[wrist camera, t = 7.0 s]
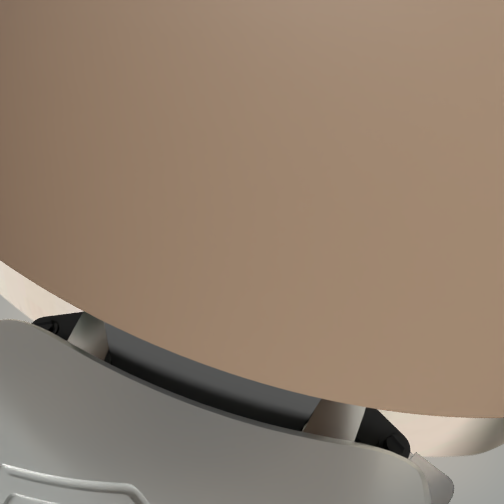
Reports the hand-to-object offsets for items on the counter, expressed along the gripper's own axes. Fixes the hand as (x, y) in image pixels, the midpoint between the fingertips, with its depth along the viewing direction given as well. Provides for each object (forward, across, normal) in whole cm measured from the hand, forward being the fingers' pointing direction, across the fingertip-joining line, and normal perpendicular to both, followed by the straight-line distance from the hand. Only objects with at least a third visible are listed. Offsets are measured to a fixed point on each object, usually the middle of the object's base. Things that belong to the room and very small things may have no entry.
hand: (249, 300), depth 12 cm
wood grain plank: (+3, +9, -7) cm, 12 cm away
